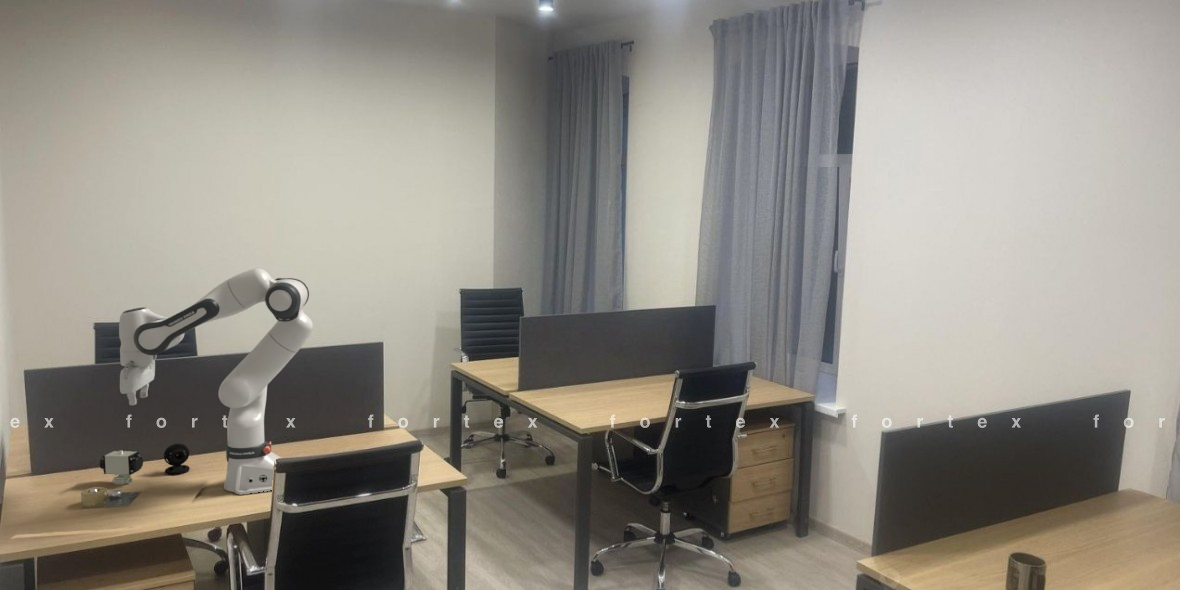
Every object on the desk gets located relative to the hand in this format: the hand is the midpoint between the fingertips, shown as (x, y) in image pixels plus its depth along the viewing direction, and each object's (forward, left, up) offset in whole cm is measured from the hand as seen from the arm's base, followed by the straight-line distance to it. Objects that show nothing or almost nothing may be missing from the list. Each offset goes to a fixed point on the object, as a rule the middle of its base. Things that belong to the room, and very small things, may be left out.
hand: (138, 400), depth 241 cm
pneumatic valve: (+7, -4, -29) cm, 30 cm away
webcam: (-6, -15, -29) cm, 34 cm away
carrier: (+5, +11, -29) cm, 32 cm away
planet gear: (+9, +13, -28) cm, 32 cm away
